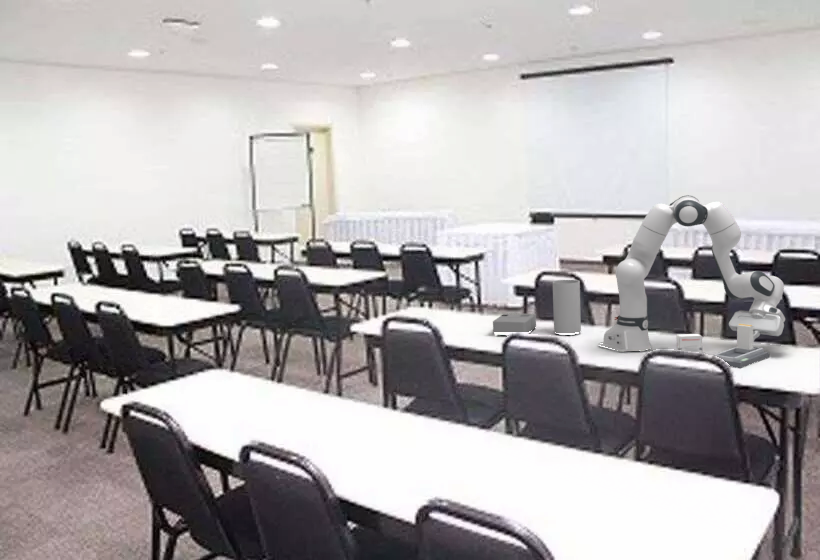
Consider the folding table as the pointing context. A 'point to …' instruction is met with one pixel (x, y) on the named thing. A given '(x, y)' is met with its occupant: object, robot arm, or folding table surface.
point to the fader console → (742, 357)
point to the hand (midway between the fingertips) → (748, 340)
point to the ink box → (689, 342)
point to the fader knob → (744, 338)
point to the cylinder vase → (566, 306)
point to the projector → (514, 323)
